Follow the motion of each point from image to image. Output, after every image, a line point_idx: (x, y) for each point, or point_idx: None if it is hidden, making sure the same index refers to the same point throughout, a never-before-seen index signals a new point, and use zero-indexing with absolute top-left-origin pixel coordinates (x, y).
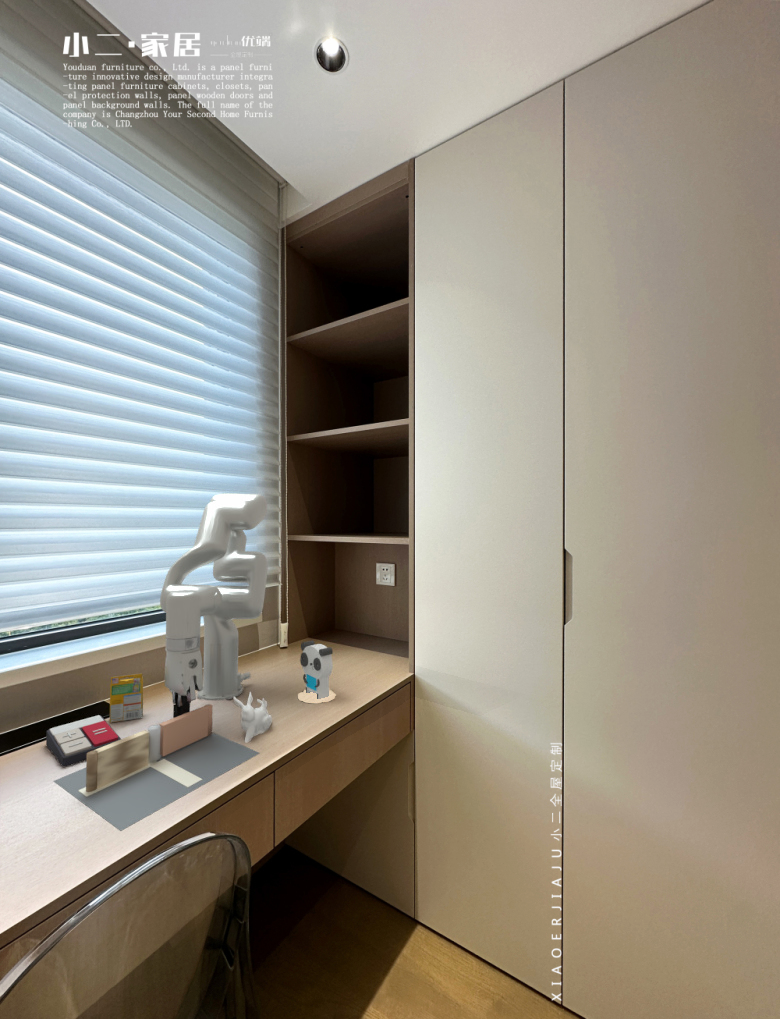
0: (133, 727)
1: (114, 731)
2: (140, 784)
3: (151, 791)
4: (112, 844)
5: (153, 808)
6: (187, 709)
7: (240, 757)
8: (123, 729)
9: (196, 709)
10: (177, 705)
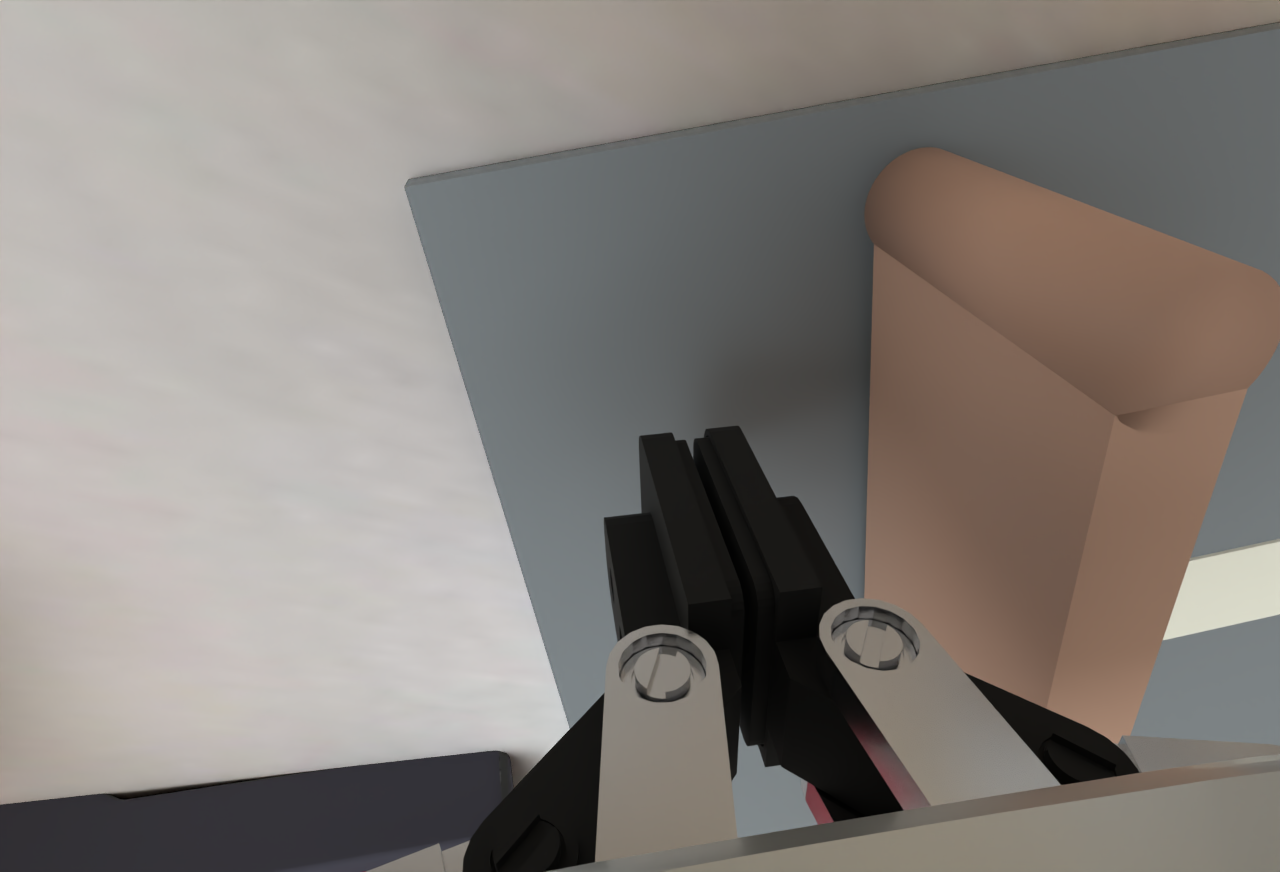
0: (67, 637)
1: (325, 867)
2: None
3: (1158, 725)
4: None
5: (1275, 739)
6: (831, 571)
7: None
8: (71, 699)
9: (1102, 554)
10: (766, 746)
